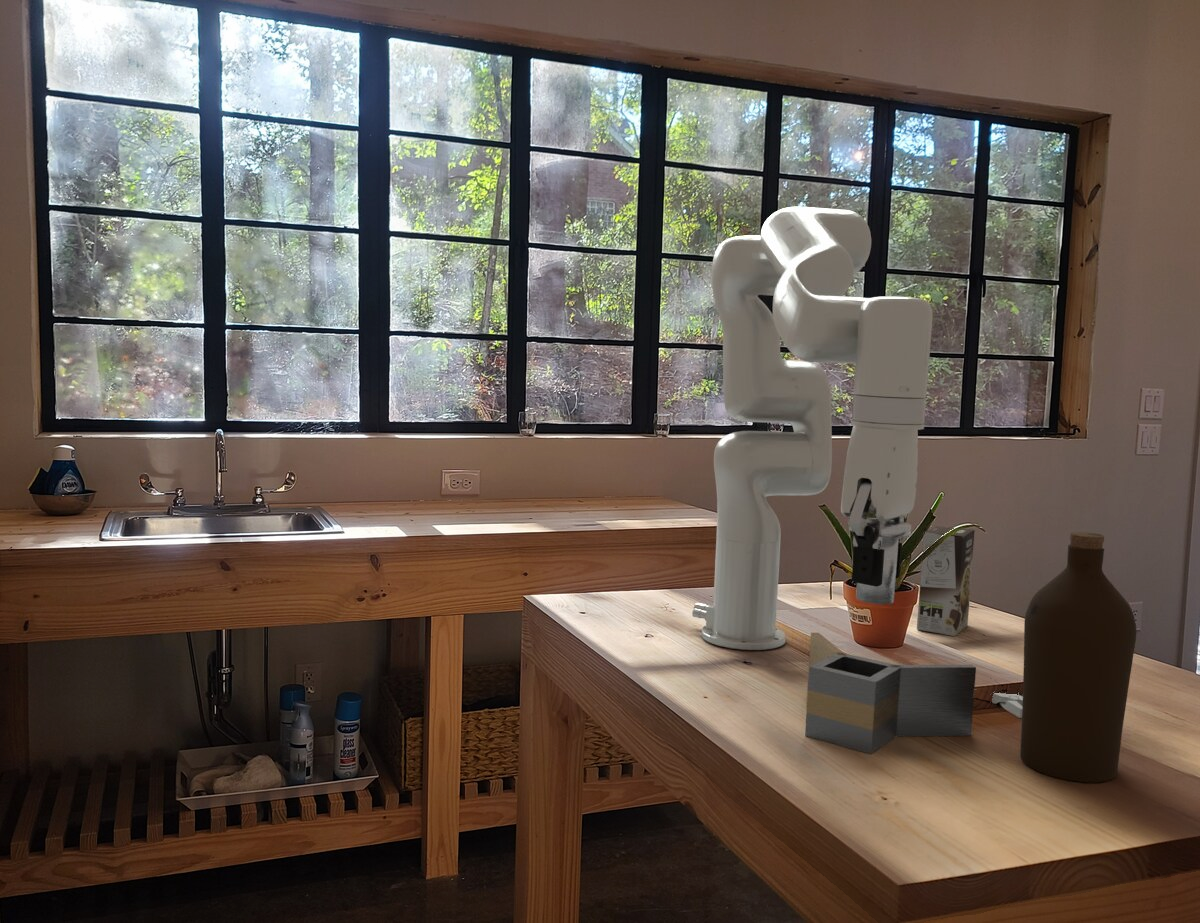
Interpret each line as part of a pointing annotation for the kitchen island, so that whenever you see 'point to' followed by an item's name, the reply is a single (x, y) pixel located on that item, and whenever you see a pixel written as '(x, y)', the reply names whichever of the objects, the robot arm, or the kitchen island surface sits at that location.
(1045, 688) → the olive oil
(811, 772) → the kitchen island surface
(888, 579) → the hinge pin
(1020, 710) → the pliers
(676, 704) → the kitchen island surface
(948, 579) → the coffee box
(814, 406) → the robot arm
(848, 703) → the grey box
